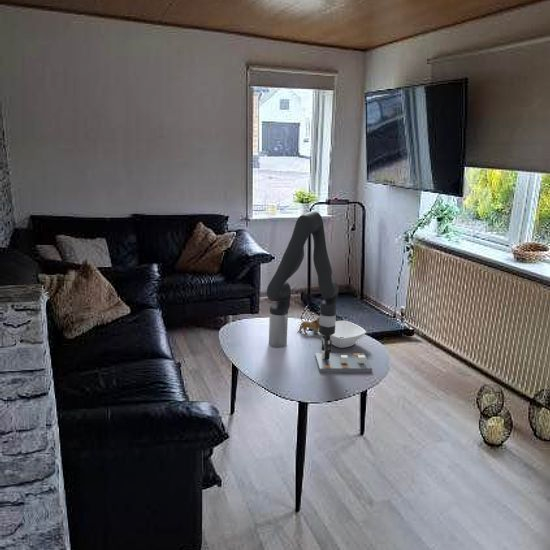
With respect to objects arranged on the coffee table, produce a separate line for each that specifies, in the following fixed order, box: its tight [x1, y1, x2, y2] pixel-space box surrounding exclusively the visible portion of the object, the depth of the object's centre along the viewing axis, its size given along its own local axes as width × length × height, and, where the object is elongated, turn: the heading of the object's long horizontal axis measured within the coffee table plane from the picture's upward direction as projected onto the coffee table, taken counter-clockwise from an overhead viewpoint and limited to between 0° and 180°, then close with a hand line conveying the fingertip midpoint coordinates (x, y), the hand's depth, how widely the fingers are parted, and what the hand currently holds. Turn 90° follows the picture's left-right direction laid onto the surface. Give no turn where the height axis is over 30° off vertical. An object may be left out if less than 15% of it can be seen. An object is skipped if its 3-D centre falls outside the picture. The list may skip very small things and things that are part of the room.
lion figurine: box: [297, 316, 320, 335], centre depth 267 cm, size 15×5×9 cm, turn 104°
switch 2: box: [357, 355, 366, 363], centre depth 230 cm, size 2×3×3 cm
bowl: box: [330, 320, 367, 349], centre depth 254 cm, size 21×21×9 cm
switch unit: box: [314, 352, 373, 373], centre depth 233 cm, size 16×24×2 cm, turn 94°
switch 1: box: [340, 355, 348, 363], centre depth 230 cm, size 2×3×3 cm
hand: (325, 355), depth 234 cm, fingers open, 8 cm apart
